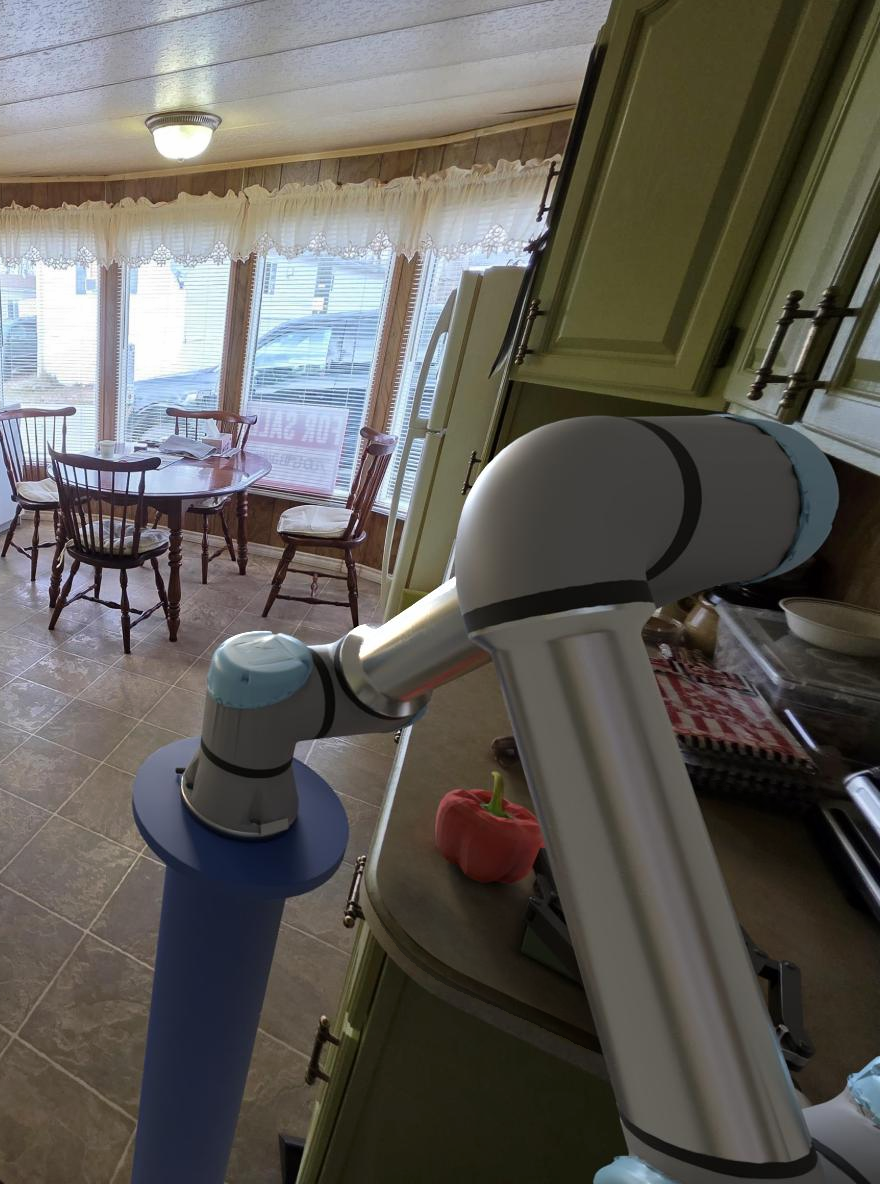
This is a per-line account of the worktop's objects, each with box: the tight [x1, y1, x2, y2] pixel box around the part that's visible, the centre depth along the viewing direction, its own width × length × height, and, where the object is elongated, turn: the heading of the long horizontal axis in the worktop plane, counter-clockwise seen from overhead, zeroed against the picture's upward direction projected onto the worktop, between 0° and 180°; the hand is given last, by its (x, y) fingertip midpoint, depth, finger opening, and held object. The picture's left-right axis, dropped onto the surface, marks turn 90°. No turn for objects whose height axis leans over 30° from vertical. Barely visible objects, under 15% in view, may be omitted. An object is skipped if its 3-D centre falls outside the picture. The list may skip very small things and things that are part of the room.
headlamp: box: [490, 733, 521, 770], centre depth 89 cm, size 12×10×8 cm
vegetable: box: [435, 771, 545, 884], centre depth 73 cm, size 11×10×10 cm
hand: (616, 875), depth 65 cm, fingers open, 13 cm apart
